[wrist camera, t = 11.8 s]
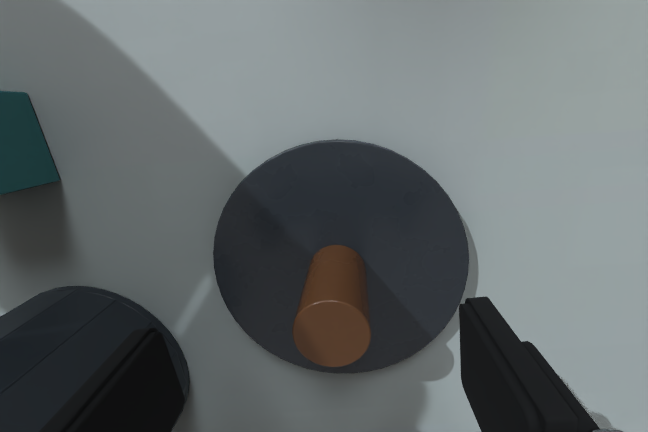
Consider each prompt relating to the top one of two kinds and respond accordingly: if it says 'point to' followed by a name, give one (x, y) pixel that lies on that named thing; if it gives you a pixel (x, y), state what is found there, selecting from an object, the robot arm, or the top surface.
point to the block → (22, 146)
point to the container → (65, 350)
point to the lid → (341, 256)
